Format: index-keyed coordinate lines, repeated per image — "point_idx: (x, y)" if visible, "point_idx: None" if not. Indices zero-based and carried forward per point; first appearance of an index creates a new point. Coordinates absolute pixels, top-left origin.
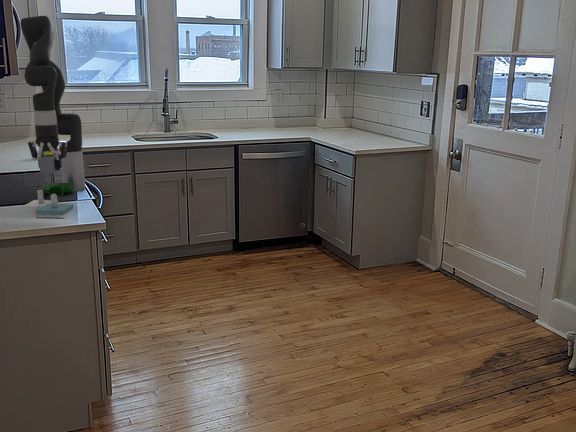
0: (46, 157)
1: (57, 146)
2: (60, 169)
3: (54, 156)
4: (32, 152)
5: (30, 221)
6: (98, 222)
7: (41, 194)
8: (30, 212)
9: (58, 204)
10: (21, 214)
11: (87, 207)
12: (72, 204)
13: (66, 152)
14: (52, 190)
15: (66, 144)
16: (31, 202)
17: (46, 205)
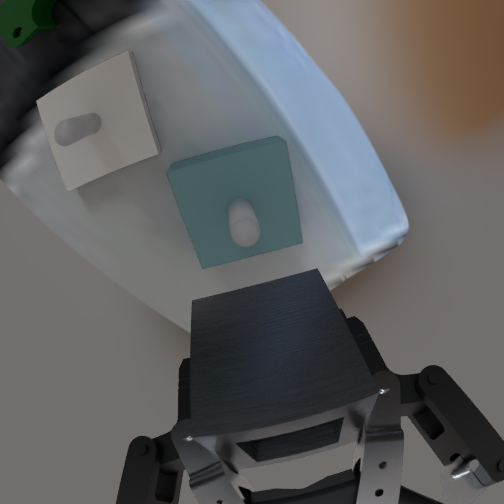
0: (303, 454)
1: (411, 490)
2: (322, 284)
3: (357, 432)
4: (167, 493)
5: (211, 280)
6: (403, 227)
7: (83, 132)
8: (122, 201)
9: (225, 167)
10: (117, 232)
11: (291, 62)
12: (286, 149)
13: (463, 395)
14: (40, 5)
15: (495, 455)
16: (53, 135)
17: (186, 199)
